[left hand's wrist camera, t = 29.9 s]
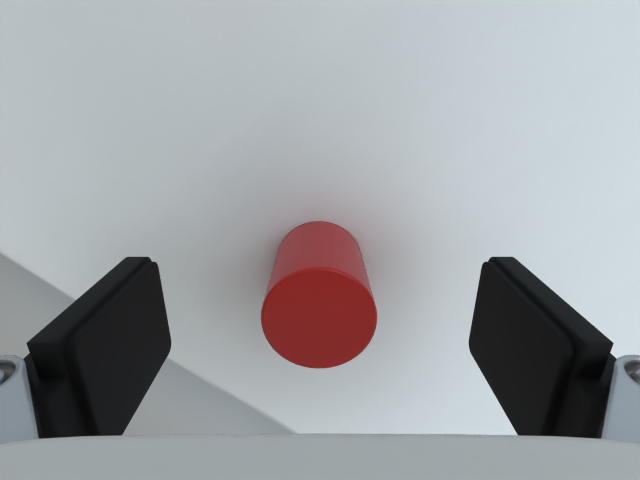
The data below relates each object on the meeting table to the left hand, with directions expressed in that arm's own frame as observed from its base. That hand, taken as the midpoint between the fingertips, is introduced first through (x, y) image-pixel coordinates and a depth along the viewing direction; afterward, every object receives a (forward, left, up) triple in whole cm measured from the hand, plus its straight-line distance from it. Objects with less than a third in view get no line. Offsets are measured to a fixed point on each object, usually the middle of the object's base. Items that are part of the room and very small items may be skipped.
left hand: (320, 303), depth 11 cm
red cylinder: (-1, 0, -5) cm, 5 cm away
